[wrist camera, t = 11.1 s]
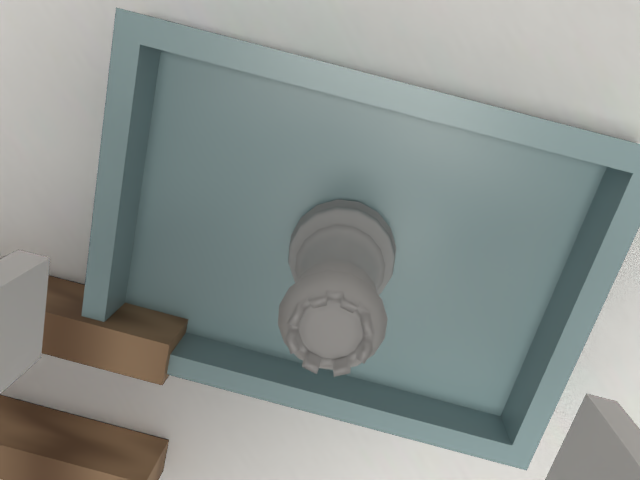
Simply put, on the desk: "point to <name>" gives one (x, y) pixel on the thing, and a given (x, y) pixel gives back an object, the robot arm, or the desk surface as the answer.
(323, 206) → the rook chess piece
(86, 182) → the desk surface
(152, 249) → the tray
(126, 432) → the slot rails
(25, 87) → the desk surface
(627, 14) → the desk surface
